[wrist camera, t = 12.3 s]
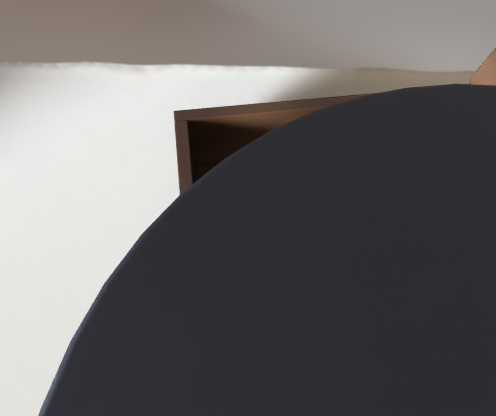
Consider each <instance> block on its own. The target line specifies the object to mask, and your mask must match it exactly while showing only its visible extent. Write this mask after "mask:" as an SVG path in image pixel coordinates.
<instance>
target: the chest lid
mask: <svg viewBox="0 0 496 416" xmlns="http://www.w3.org/2000/svg"><path fill="white" fill-rule="evenodd" d="M469 81H470V84H472V85H496V48H495V49H494V51H493V52H492V53H491V54H490V55H489V56H488V58H487V59H486V60H485V61H484V62H483V64H482V65H481V66H480V67H479V68H478V70H477V71H476V72H475V73H474V74H473V75H472V77H471V78H470V79H469Z"/></svg>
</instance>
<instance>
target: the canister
mask: <svg viewBox="0 0 496 416" xmlns="http://www.w3.org/2000/svg"><path fill="white" fill-rule="evenodd" d="M39 416H496V85H472V84H450V85H437V86H424V87H411V88H404V89H398V90H393V91H388V92H383V93H377V94H372V95H367V96H362V97H358V98H355V99H351V100H348V101H345V102H342V103H339V104H336V105H332V106H329V107H326V108H323V109H320V110H317V111H313V112H311V113H309V114H307V115H305V116H302V117H300V118H298V119H296V120H294V121H291V122H289V123H287V124H285V125H283V126H280V127H278V128H276V129H274V130H272V131H269V132H267V133H266V134H264V135H263V136H261V137H259V138H258V139H256V140H254V141H253V142H251V143H250V144H248V145H246V146H245V147H243V148H241V149H240V150H238V151H236V152H235V153H233V154H232V155H230V156H228V157H227V158H225V159H224V160H222V161H221V162H220V163H219V164H217V165H216V166H215V167H214V168H212V169H211V170H210V171H209V172H207V173H206V174H205V175H204V176H202V177H201V178H200V179H199V180H197V181H196V182H195V183H194V184H192V185H191V186H190V187H189V188H187V189H186V190H185V191H184V192H183V193H182V194H181V195H180V196H179V197H178V198H177V199H176V200H175V201H174V202H173V203H172V204H171V205H170V206H169V207H168V208H167V209H166V210H165V211H164V212H163V213H162V214H161V215H160V216H159V217H158V218H157V219H156V220H155V221H154V222H153V223H152V224H151V225H150V226H149V227H148V228H147V229H146V230H145V232H144V233H143V234H142V235H141V236H140V237H139V239H138V240H137V241H136V243H135V244H134V245H133V247H132V248H131V249H130V251H129V252H128V253H127V255H126V256H125V257H124V258H123V260H122V261H121V262H120V264H119V265H118V266H117V268H116V269H115V270H114V272H113V273H112V274H111V276H110V277H109V278H108V279H107V281H106V282H105V283H104V285H103V287H102V289H101V290H100V292H99V294H98V295H97V297H96V299H95V301H94V302H93V304H92V306H91V307H90V309H89V311H88V312H87V314H86V316H85V318H84V319H83V321H82V323H81V324H80V326H79V328H78V329H77V331H76V333H75V335H74V336H73V338H72V340H71V341H70V344H69V346H68V348H67V350H66V353H65V355H64V357H63V360H62V362H61V364H60V366H59V369H58V371H57V373H56V375H55V378H54V380H53V382H52V385H51V387H50V389H49V391H48V394H47V396H46V398H45V400H44V403H43V405H42V407H41V410H40V413H39Z"/></svg>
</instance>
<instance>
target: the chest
mask: <svg viewBox="0 0 496 416" xmlns="http://www.w3.org/2000/svg"><path fill="white" fill-rule="evenodd" d="M372 94H377V93H372ZM372 94H361V95H349V96H338V97H327V98H315V99H304V100H293V101H281V102H270V103H259V104H247V105H236V106H225V107H214V108H202V109H191V110H180V111H174V121H175V135H176V148H177V162H178V176H179V189H180V195H181V194H182V193H183V192H184V191H185V190H186V189H187V188H189V187H190V186H191V185H192V184H194V183H195V182H196V181H197V180H199V179H200V178H201V177H202V176H204V175H205V174H206V173H207V172H209V171H210V170H211V169H212V168H214V167H215V166H216V165H217V164H219V163H220V162H221V161H222V160H224V159H225V158H227V157H228V156H230V155H232V154H233V153H235V152H236V151H238V150H240V149H241V148H243V147H245V146H246V145H248V144H250V143H251V142H253V141H254V140H256V139H258V138H259V137H261V136H263V135H264V134H266V133H267V132H269V131H272V130H274V129H276V128H278V127H280V126H283V125H285V124H287V123H289V122H291V121H294V120H296V119H298V118H300V117H302V116H305V115H307V114H309V113H311V112H313V111H317V110H320V109H323V108H326V107H329V106H332V105H336V104H339V103H342V102H345V101H348V100H351V99H355V98H358V97H362V96H367V95H372Z"/></svg>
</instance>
